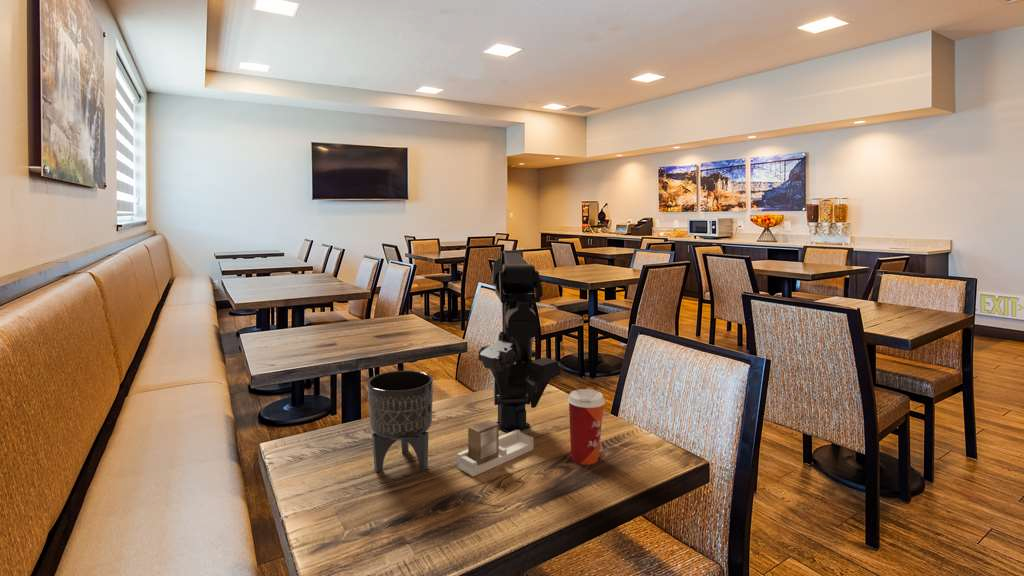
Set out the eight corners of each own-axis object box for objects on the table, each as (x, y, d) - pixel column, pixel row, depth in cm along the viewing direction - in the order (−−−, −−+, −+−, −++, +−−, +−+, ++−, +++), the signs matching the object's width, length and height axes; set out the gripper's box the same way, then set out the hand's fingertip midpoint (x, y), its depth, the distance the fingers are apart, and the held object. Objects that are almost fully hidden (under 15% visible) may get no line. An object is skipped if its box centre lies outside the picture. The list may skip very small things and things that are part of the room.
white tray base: (457, 467, 109) (456, 453, 108) (517, 442, 120) (517, 429, 120) (473, 476, 105) (473, 462, 105) (533, 449, 117) (533, 436, 116)
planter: (446, 456, 113) (445, 375, 111) (410, 485, 102) (407, 395, 99) (396, 444, 119) (394, 367, 116) (356, 470, 107) (352, 385, 104)
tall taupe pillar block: (478, 465, 106) (478, 432, 105) (468, 460, 109) (468, 427, 108) (498, 456, 110) (498, 424, 109) (488, 451, 112) (488, 419, 111)
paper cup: (602, 469, 108) (604, 402, 106) (564, 465, 110) (565, 399, 108) (603, 451, 116) (606, 389, 114) (568, 448, 118) (569, 386, 115)
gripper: (457, 325, 110) (458, 398, 112) (522, 343, 96) (521, 425, 99) (498, 317, 117) (498, 386, 120) (563, 333, 104) (561, 410, 106)
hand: (517, 401), depth 111 cm, fingers open, 9 cm apart
